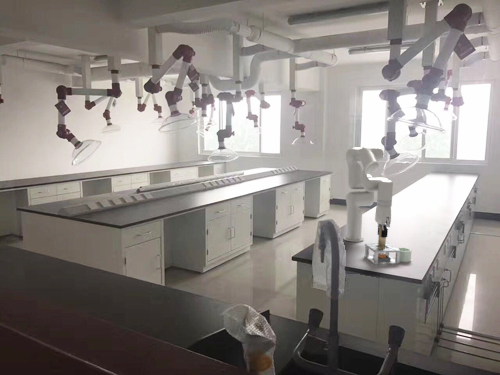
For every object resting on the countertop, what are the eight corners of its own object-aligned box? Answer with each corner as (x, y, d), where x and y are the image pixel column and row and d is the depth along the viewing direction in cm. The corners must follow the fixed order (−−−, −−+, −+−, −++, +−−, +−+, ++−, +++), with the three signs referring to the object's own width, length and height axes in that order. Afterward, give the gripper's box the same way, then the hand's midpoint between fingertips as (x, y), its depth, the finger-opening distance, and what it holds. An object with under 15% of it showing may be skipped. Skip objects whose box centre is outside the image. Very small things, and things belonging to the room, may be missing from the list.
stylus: (376, 246, 220) (378, 223, 218) (383, 246, 221) (384, 223, 219) (379, 248, 217) (381, 225, 214) (386, 248, 217) (387, 225, 215)
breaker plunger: (375, 258, 221) (376, 252, 220) (383, 257, 221) (384, 252, 221) (379, 260, 216) (379, 255, 216) (387, 260, 217) (387, 255, 216)
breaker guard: (364, 256, 225) (364, 243, 224) (388, 255, 226) (388, 242, 225) (374, 264, 211) (375, 251, 210) (399, 263, 213) (400, 250, 212)
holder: (394, 258, 221) (394, 247, 220) (406, 257, 222) (406, 247, 221) (400, 262, 214) (400, 251, 213) (412, 262, 215) (413, 251, 214)
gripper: (371, 200, 222) (369, 232, 225) (384, 206, 206) (382, 240, 209) (384, 199, 223) (382, 231, 226) (398, 206, 207) (396, 240, 210)
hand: (382, 235), depth 217 cm, fingers closed on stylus, 3 cm apart
